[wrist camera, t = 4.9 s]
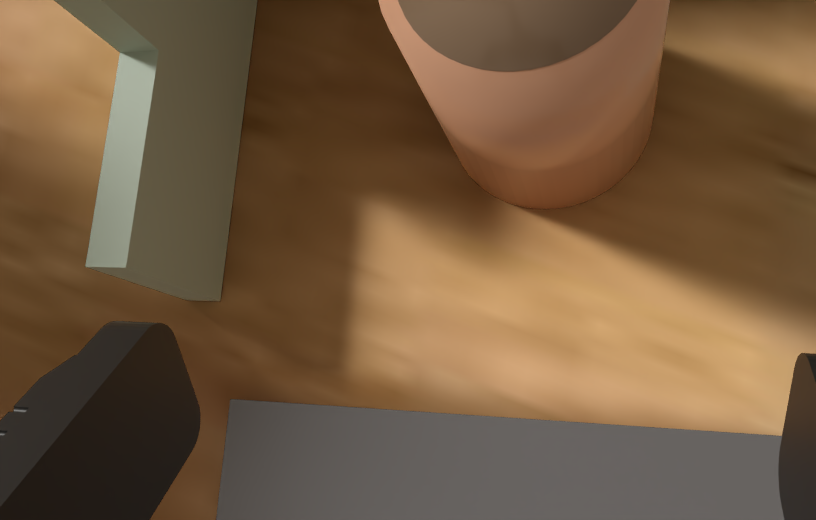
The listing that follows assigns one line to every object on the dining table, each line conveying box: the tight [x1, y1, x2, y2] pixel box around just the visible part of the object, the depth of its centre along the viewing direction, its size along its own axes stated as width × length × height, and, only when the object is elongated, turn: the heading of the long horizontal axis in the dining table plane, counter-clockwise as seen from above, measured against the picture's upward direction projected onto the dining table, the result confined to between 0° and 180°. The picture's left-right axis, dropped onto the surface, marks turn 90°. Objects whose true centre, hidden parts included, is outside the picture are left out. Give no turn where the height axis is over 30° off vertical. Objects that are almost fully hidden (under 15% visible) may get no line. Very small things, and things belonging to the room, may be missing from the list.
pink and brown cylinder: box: [378, 0, 670, 209], centre depth 19 cm, size 6×6×8 cm
